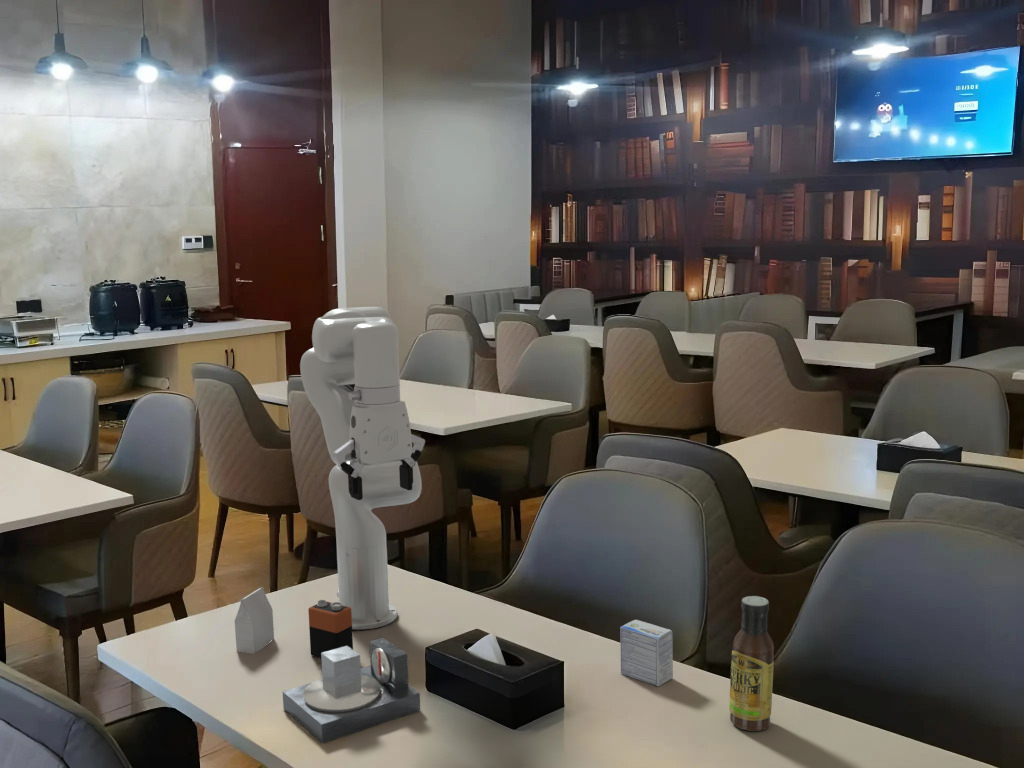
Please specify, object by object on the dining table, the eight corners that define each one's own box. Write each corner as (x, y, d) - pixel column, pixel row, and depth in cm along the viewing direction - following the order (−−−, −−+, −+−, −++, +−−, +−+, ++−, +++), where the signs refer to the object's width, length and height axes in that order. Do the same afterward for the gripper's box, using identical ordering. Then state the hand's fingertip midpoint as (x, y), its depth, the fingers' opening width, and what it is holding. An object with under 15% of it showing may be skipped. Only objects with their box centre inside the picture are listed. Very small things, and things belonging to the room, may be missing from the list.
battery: (338, 664, 186) (335, 609, 184) (309, 656, 190) (306, 602, 188) (354, 655, 190) (352, 601, 188) (326, 647, 193) (323, 595, 192)
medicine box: (673, 679, 178) (673, 630, 176) (658, 688, 174) (658, 638, 173) (635, 666, 183) (635, 618, 182) (619, 674, 180) (619, 626, 178)
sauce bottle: (721, 723, 162) (722, 599, 159) (744, 710, 166) (747, 588, 163) (756, 738, 157) (759, 610, 154) (780, 724, 162) (783, 599, 158)
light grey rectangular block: (322, 688, 168) (321, 652, 167) (348, 681, 170) (347, 645, 170) (335, 698, 164) (333, 662, 163) (361, 691, 167) (359, 655, 166)
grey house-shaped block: (274, 639, 198) (271, 588, 196) (254, 653, 191) (251, 600, 190) (257, 637, 199) (253, 586, 197) (236, 651, 192) (233, 598, 191)
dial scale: (283, 709, 170) (280, 657, 168) (377, 680, 179) (375, 631, 178) (322, 743, 158) (319, 688, 157) (420, 710, 168) (418, 658, 167)
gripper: (341, 404, 172) (346, 507, 174) (433, 392, 182) (436, 489, 184) (321, 398, 178) (326, 497, 180) (410, 387, 188) (414, 481, 190)
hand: (381, 493), depth 182 cm, fingers open, 9 cm apart
